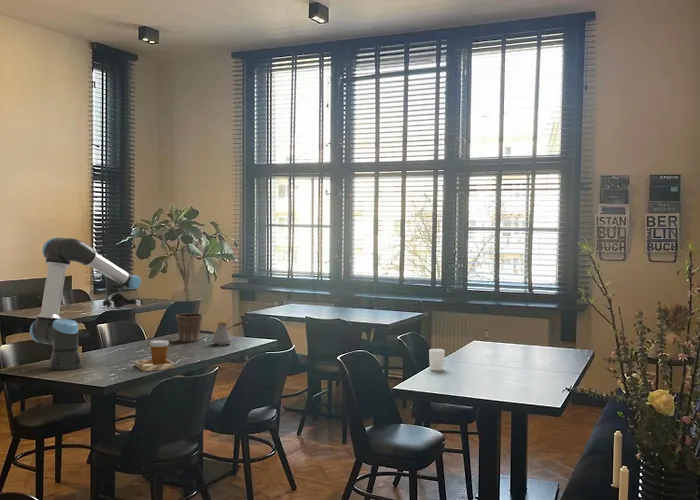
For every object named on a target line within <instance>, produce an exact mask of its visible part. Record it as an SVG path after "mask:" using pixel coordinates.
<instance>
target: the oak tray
mask: <svg viewBox="0 0 700 500" xmlns="http://www.w3.org/2000/svg"><path fill="white" fill-rule="evenodd" d="M134 366H135V367H136V368H138V369H139V370H140V371H142V372H149V371H150V372H151V371H160V370H161V371H162V370H171V369H175V367H176V364H175V362H173V361H171V360H170V359H167V358H166V364H161V365H153V362H152V359H145V360H144V359H142V360H135V361H134Z"/></svg>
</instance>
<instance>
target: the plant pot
mask: <svg viewBox="0 0 700 500" xmlns="http://www.w3.org/2000/svg"><path fill="white" fill-rule="evenodd" d="M175 317H176V322H177V329H178V340H179V342H183V343H191V342H193V343H196V342H198V341H200V335H201V324H202V321H203V317H204V316H203V314H202V313H193V312H192V313H191V312H190V313H187V312H186V313H180V314H176V315H175Z"/></svg>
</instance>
